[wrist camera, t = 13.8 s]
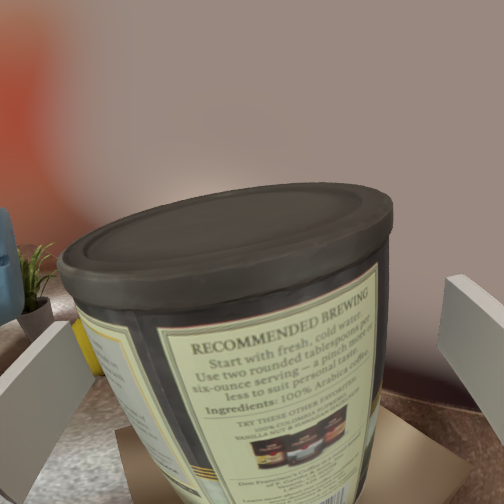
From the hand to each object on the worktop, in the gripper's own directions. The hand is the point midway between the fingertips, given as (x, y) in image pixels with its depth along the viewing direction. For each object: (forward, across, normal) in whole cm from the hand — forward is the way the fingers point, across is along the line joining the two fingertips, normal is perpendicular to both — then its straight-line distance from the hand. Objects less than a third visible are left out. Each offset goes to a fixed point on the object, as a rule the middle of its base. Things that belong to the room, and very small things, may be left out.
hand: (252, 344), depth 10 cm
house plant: (+27, -37, -16) cm, 48 cm away
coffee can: (+1, 0, -10) cm, 10 cm away
